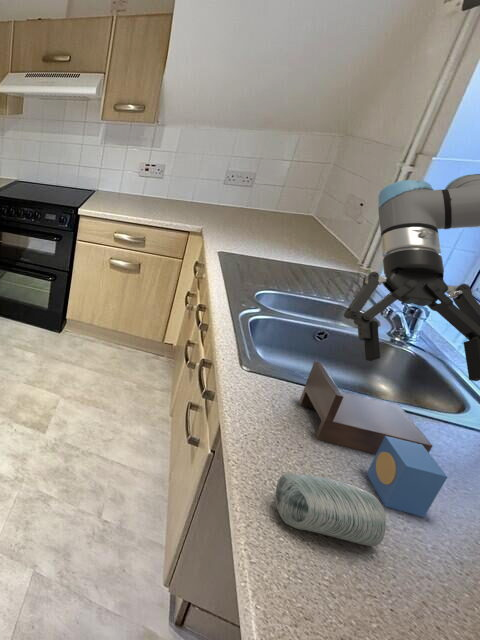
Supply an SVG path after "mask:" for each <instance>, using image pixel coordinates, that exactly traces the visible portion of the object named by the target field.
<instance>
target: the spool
mask: <svg viewBox="0 0 480 640" xmlns="http://www.w3.org/2000/svg"><path fill="white" fill-rule="evenodd" d="M275 505H276V509H277V511H278V514H279V516H280V518H281V520H282V521H283V522H284V523H285V524H286V525H288V526H290V527H293V528H294V529H297V530H301V531H303V530H304V531H308V532H312V533H316V534H320V535H324V536H328V537H331V538H336V539H338V540H342V541H346V542H350V543H355V544H358V545H362V546H368V547H374V546H378V545H379V544H381V543H382V542H383V540H384V538H385V533H386V530H387V529H386V527H387V526H386V522H387V521H386V511H385V509H384V507H383V505H382V503H381V502H380V501H379V499H378V498H377V497H376V496H375V495H373V494H372V493H370V492H369V491H366V490H365V489H362V488H360V487H358V486H355V485H352V484H350V483H347V482H344V481H343V482H342V481H339V480H336V479H332V478H328V477H322V476H315V475H310V474H309V475H308V474H301V473H290V472H289V473H288V472H287V473H284V474H282V475H281V476H280V477H279V478H278V480H277V484H276V487H275Z"/></svg>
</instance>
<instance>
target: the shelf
mask: <svg viewBox="0 0 480 640" xmlns="http://www.w3.org/2000/svg"><path fill="white" fill-rule="evenodd" d="M298 403H299V405H300V406H302V407H305V408H309V409H314V410H315V411H316V413H317V415H318V417H319V419H320V423H319V425H318V429H317V431H316V433H315V438H316V440H318V441H322V442H325V443H330V444H334V445H337V446H342V447H346V448H349V449H353V450H357V451H361V452H365V453H369V454H372V455H376V453H377V451H378V449H379V447H380V445H381V443H382V441H383V439H384V437H385V436H388V437H392V438H396V439H400V440H404V441H408V442H412V443H417V444H421V445H423V446H424V448H425V449H426V450H427V451H428V453H429V454H430V452H431V449H432V448H433V444H432V443H431V441H430V440H429V439H428V438H427V437H426V436H425V435H424V433H423V432H422V431H421V429H419V427H418V426H417V425H416V423H415V422H414V421H413V420H412V419H411V417H410V416H409V415H408V414H407V413H406V411H405V410H404V409H403V407H402V406H401V405H400V404H398V403H394V402H390V401H385V400H380V399H375V398H371V397H366V396H362V395H358V394H353V393H348V392H344V391H341V390H340V389H339V387H338V386H337V384H336V383H335V382H334V380H333V379H332V376H330V374H329V373H328V370H327V369H326V368H325V367H324V365H323V363H322V362H320V361H313V363H312V366H311V369H310V372H309V375H308V377H307V380H306V382H305V384H304V388H303V390H302V392H301V395H300V397H299V400H298Z"/></svg>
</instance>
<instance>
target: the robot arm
mask: <svg viewBox="0 0 480 640" xmlns="http://www.w3.org/2000/svg"><path fill="white" fill-rule="evenodd" d="M378 221H379V228H380V239H381V240H380V241H381V253H382V255H381V256H382V257H383V259H382V264H383V275H384V276H383V275H380V274H379V272H376V271H372V272H370V273H369V274H367V275H365V276H364V277H363V279H362V287H361V288H360V290H358V292H357V294H356V296H355V297H354V298H353V300H352V301H351V303H350V304H349V305H348V307H347V309H346V310H345V311H344V313H343V317H344V318H345V319H351V320H353V324H355V326H357V337H358V339H359V340H360V341H364V357H365V361H368V362H372V361H376V360H378V359H380V358H381V351H380V349H381V348H380V336H379V324H378V323H379V322H378V321H375V320H372V319H373V318H376V316H378V315H379V314H381V313H382V312H383V311H384V310H385V309H387V308H389V306H391V305H392V304H393V303H395V302H396V301H399V302H401V304H406V305H411V304H412V305H415V306H418V307H428V308H429V309H430V310H431V311H434V312H437V314H438V315H440V316H441V317H442V318H443V319H445V320H446V321H447V322H448V323H449V324H450V325H451V326H452V327H454V329H456V331H458V332H459V333H460V334H461V335H462V336H464V337H465V338H466V339H467V340H466V341H464V342H463V349H464V354H465V361H466V368H467V375H468V380H469V381H471V382H479V381H480V303H479V302H478V300H477V299H476V298H475V297H474V296H473V292H472V289H471V287H470V285H469V284H467V283H461V284H460V285H450V284H449V285H448V284H447V283H446V282H445V280H444V276H445V268H444V261H443V256H442V255H441V254H442V251H441V243H440V237H439V236H440V235H439V231H440V230H454V229H455V230H456V229H473V228H480V173H470V174H465V175H461V176H459V177H456V178H454V179H453V180H451V181H450V182H449V183H448V184H447V185H446V186H445V187H444V189H434V188H433V187H432V185H431V184H430V183H429V182H427V181H425V180H420V179H419V180H415V179H405V180H400V181H399V180H398V181H395V182H393V183H391V184H388V185H386V186H385V187H384V188H382V189H381V190H380V192H379V194H378ZM381 285H383V286H384V287H385V288H386V290H387V291H388V292H389V293H388V294H387V295H385V296H384V297H382V298H381V299H380V300H379V301H377V302H376V303H375V304H374V305H371V307H370V308H368V309H367V310H366V311H364V312H361V311H362V310H363V308H364V307H365V305H366V304H367V302H368V300H369V299H370V298H371V296H372V295H373V293H374V292H375V290H376V289H377V288H378V287H380V286H381ZM437 301H439V303H438V302H437Z"/></svg>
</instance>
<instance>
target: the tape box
mask: <svg viewBox="0 0 480 640" xmlns="http://www.w3.org/2000/svg"><path fill="white" fill-rule="evenodd" d="M366 476H367V478H368V480H369V481H370V482H371V485H372V487H373V489H374V490H375V492H376V493H377V495H378V497H379V498H380V500H381V502H382V504H383V505H384V507H387V508H390V509H393V510H397V511H400V512H403V513H406V514H410V515H414V516H417V517H421V518H425V516H426V514H427V513H428V511H429V510H430V508H431V506H432V504H433V503H434V501H435V499H436V497H438V495H439V493H440V491H441V490H442V488H443V486H444V485H445V482H446V481H447V479H448V475H447V474H446V473H445V471H444V470H443V469H442V468H441V466H440V465H439V464H438V463H437V461H436V460H435V459H434V457H433V456H432V455H431V453H430V452H429V453H428V451H427V450H426V449H425V448H424V446H423V445H421V444H417V443H412V442H408V441H404V440H400V439H396V438H392V437H388V436H385V437H384V439H383V441H382V443H381V445H380V447H379V449H378V451H377V453H376V454H374V458H373V460H372V461H371V463H370V466H369V467H368V470H367V471H366Z"/></svg>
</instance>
